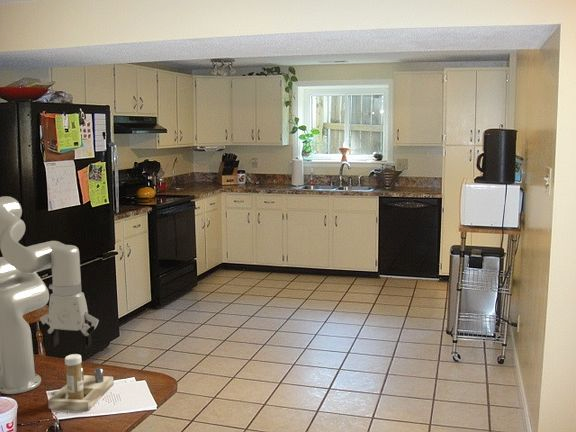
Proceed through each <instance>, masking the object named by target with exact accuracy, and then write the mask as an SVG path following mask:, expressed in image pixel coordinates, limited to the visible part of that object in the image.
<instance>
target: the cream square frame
mask: <svg viewBox="0 0 576 432" xmlns="http://www.w3.org/2000/svg"><path fill="white" fill-rule="evenodd" d="M81 369H82V378H83V392H84V398H83V399H82V400H76V399H69V396H68V388H67V383H66V384H65V385H63V386H62V387H61V388H60V389H59V390H58V391H57V392H56V393H54V395H52V396H51V397H50V398H49V399H48V400H47V403H48V409H49V410H50V409H52V410H70V411H82V412H83V411H84V412H85V411H86V412H89V411H90V410H91V408H92V409H93V407H94V406H95V405H96V404H97V402H99V400H100V399H102V398H103V396H104V395H105V394H106V393H107V392H108V391H109V390H110V389H111V388H112V387H113V386H114V376H109V375H106V376H105V375H104V368H103V367H102V366H98V367H95V368H94V375H86V374H84V367H83V366H82V365H81Z"/></svg>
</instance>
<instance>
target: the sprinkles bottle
mask: <svg viewBox="0 0 576 432" xmlns="http://www.w3.org/2000/svg"><path fill="white" fill-rule="evenodd" d="M82 362H83V361H82V355H81V354H78V353H75V354H74V353H72V354H69V355H66V356H65V357H64V365H65V373H66V375H65V376H66V384H67V388H68V396H69V399H76V400H82V399H83V398H84V392H83V378H82V369H81V366H82Z"/></svg>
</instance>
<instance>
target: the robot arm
mask: <svg viewBox="0 0 576 432" xmlns="http://www.w3.org/2000/svg"><path fill="white" fill-rule="evenodd" d="M22 214H23V209H22V205H21V203H19V201H18V200H17V199H16V198H14V197H12V196H7V195H6V196H0V252H1V254H2V256H0V393H1V394H4V395H16V394H22V393H26V392H30V391H31V390H34V389H35V388H37V387H39V386H40V384H41V383H42V378H41V376H40V375H39V374H37V373H36V370H35V361H34V359H35V358H34V351H33V350H34V347H33V339H32V337H33V336H32V331H31V327H30V324H29V323H28V322H27V321H26V320H25V318H24V315H26V314H28V313H31V312H33V311H37V310H39V309H42V308H43V307H45V306H46V305H47V304H48V303H49V304H48V313H46V314H44V315H42V316H41V317H39V320H40V322H41V324H42V326H43V328H44V329H45V330H47V334H49V342H50V345H51V348H54V347H56V346H57V345H59V344H60V336H59V330H61V331H63V330H64V331H81V333H82V349H83V350H87V349H88V348H89V347H91V345H92V333H93V332H94V330H95V329H97V326H98V324H99V321H100V320H99V318H96V317H95V316H93V315H91V314H89V310H88V305H87V300H86V299H87V298H86V297H85V293H84V292H82V278H81V277H82V276H81V275H82V274H81V260H80V259H81V258H80V250H79V247H77V246H76V245H72V244H65V243H62V242H61V241H58V240H50V241H46V242H41V243H37V244H32V245H29V246H24V245H23V244H21V243H20V240H21V239H22V238H23V236H24V235H25V232H26V224H25V222H24V220H23V219H21V217H22ZM48 269H51V276H52V277H51V278H52V283H50V284H49V286H48V287H47V285H46V283H45V282H44V281H43V280H42V278H41V277H40V276H39V274H38V272H42V271H44V270H48ZM49 289H50V290H52V293H51V294H50V293H49V292H50V291H49ZM89 322H90V323H91V326H90V325H89Z"/></svg>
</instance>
